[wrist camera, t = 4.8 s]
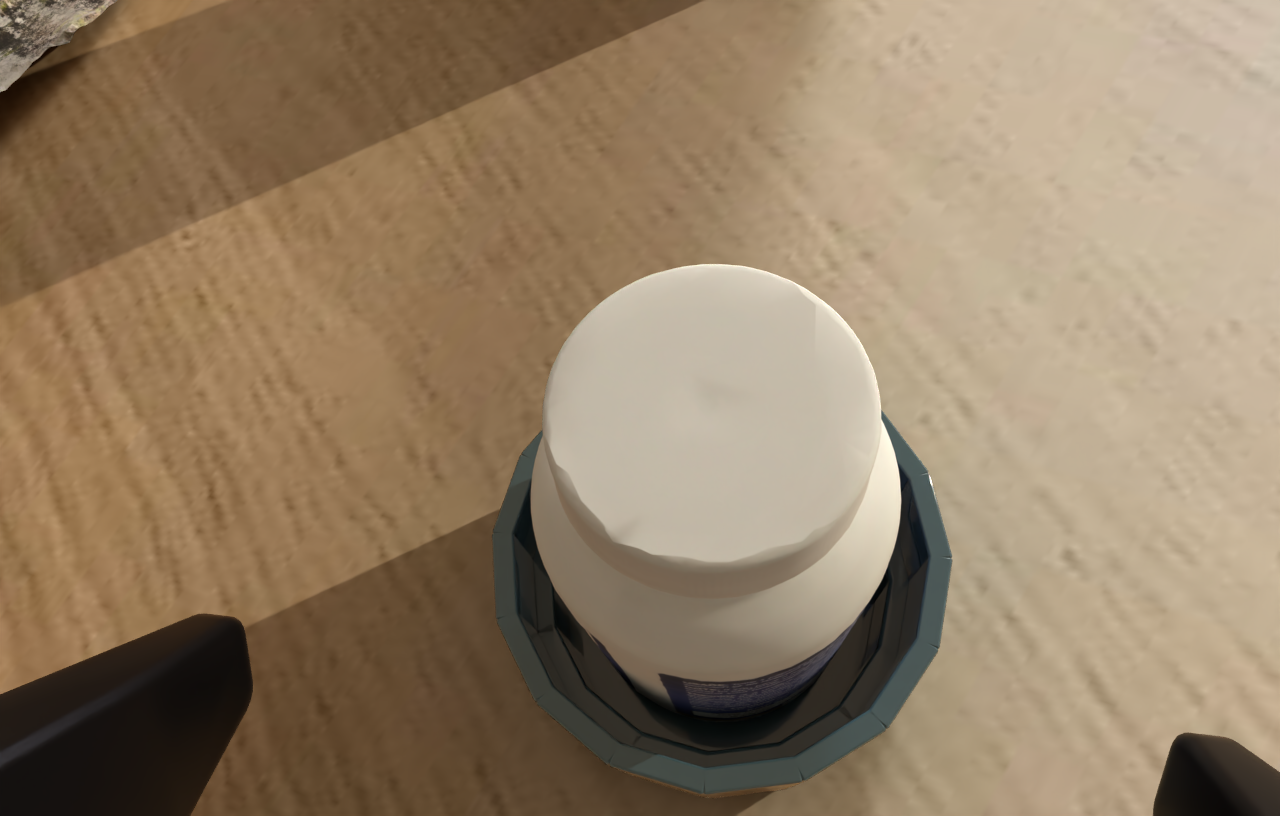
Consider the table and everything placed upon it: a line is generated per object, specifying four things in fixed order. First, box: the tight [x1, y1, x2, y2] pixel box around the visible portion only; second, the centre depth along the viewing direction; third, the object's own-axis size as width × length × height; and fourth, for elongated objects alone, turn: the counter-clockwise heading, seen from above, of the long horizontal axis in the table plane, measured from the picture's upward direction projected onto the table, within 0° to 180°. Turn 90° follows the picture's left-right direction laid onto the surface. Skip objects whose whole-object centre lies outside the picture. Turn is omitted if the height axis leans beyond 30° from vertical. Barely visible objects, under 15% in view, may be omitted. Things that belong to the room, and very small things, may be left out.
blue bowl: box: [492, 410, 952, 799], centre depth 18 cm, size 8×8×4 cm
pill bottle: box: [531, 264, 901, 722], centre depth 15 cm, size 5×5×10 cm
